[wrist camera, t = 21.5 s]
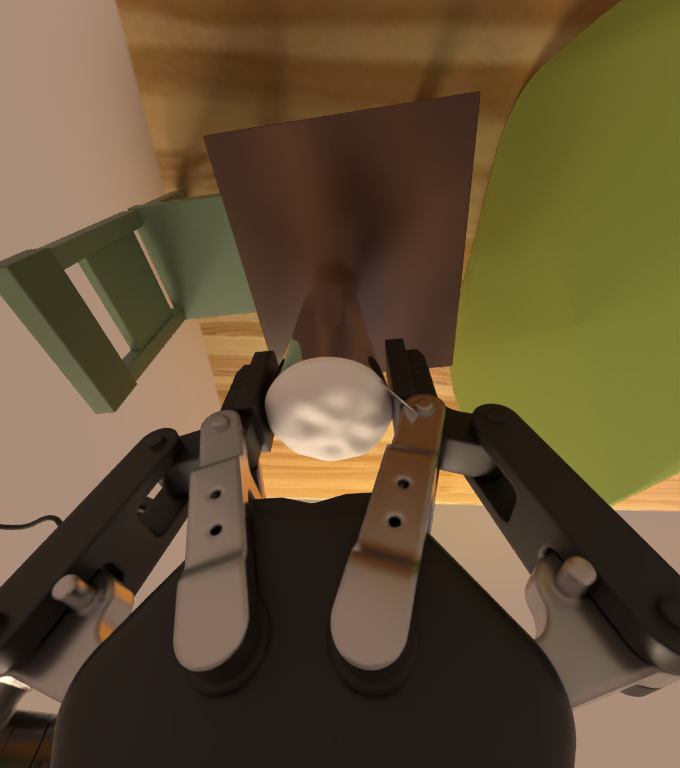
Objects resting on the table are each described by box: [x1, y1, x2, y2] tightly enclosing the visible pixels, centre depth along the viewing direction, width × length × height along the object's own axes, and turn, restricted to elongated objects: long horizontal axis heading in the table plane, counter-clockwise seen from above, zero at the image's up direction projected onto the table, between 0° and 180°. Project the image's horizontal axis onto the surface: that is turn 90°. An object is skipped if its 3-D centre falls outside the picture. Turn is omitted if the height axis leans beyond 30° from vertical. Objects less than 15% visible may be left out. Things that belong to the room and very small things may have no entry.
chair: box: [0, 190, 257, 414], centre depth 22 cm, size 8×8×17 cm
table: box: [203, 91, 480, 372], centre depth 23 cm, size 12×14×12 cm
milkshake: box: [265, 284, 418, 461], centre depth 14 cm, size 4×5×10 cm
